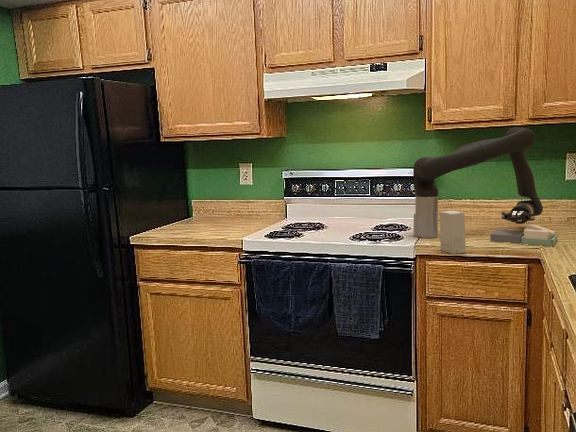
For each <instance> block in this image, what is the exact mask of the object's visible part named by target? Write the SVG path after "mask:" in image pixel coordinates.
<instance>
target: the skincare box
mask: <svg viewBox="0 0 576 432" xmlns="http://www.w3.org/2000/svg"><path fill="white" fill-rule="evenodd" d="M465 213H466V212H463V211H457V210H444V211H439V235H440V237H439V239H440V240H439V241H440V251H443V252H445V253H448V254H451V255H453V254H454V255H455V254H466V252H467V251H466V224H465V223H466V221H465V219H466V218H465V217H466V216H465V215H466V214H465Z"/></svg>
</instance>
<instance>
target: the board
mask: <svg viewBox="0 0 576 432" xmlns="http://www.w3.org/2000/svg"><path fill="white" fill-rule="evenodd" d="M523 231H524V230H511V229H510V230H509V229H495V230H494V231H492V232H491V233H489V235H490V238H489V240H490V241H495V242H494V243H503V242H510V243H509V244H515V243H521V237H522V236H523V235H524V234H523Z"/></svg>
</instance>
